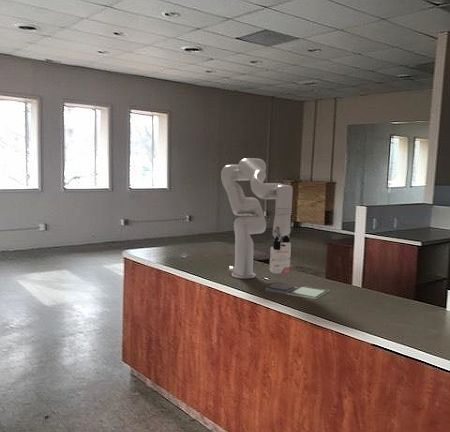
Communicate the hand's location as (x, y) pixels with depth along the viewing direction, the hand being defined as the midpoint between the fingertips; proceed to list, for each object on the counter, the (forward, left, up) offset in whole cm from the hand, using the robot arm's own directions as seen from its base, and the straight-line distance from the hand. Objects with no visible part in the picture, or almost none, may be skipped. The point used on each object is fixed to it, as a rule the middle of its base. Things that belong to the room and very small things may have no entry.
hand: (281, 248), depth 228 cm
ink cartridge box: (-1, +1, -12) cm, 12 cm away
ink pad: (+1, 0, -20) cm, 20 cm away
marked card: (+13, +3, -20) cm, 24 cm away
